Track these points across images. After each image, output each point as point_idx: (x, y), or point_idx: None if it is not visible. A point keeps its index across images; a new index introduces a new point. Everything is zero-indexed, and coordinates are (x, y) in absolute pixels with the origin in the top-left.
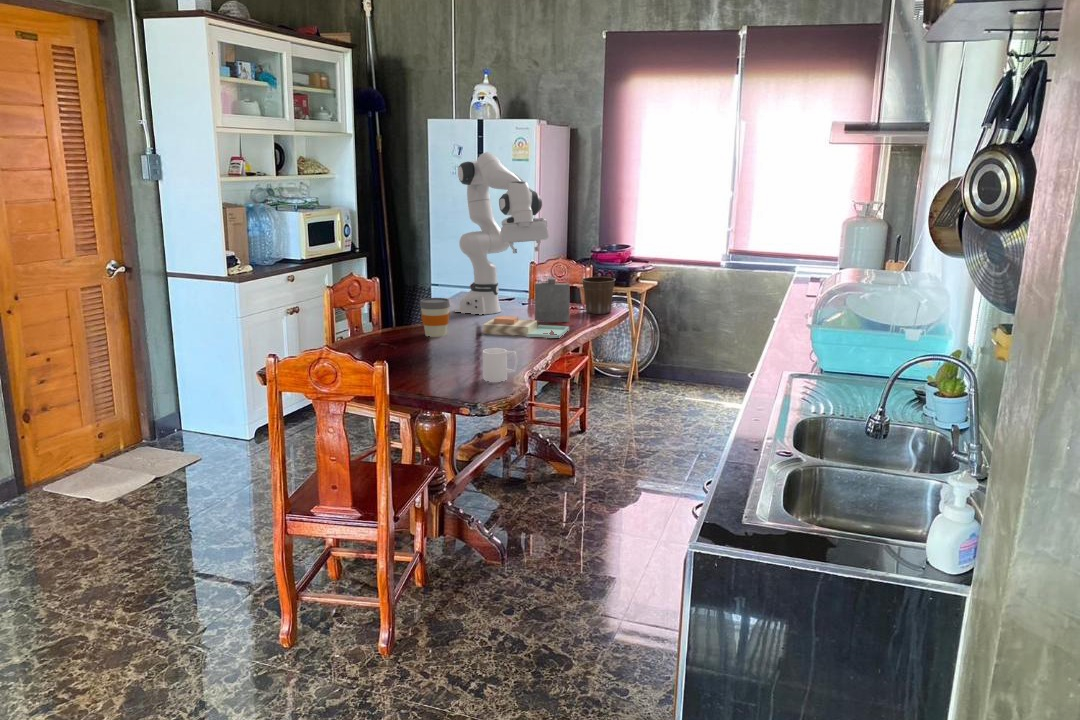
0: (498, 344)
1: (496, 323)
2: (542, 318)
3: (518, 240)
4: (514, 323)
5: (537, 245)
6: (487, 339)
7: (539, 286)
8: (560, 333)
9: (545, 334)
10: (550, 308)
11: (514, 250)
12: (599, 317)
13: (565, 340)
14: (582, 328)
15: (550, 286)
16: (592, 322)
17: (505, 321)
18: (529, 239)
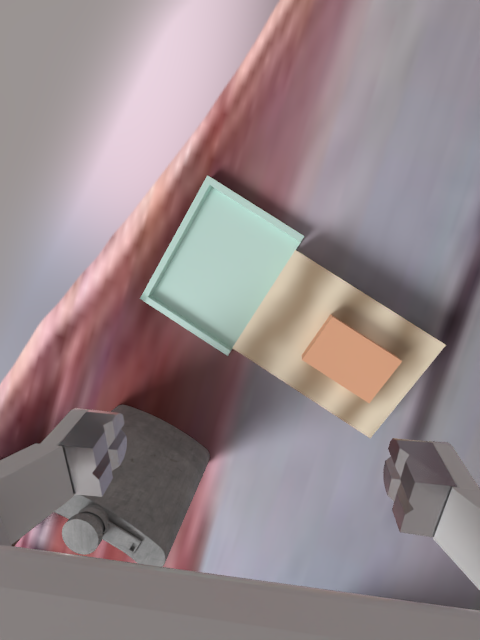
0: (434, 156)
1: (390, 347)
2: (188, 443)
3: (439, 620)
4: (327, 319)
5: (39, 479)
6: (447, 246)
7: (153, 528)
8: (195, 203)
9: (247, 203)
10: (151, 447)
11: (447, 463)
12: (19, 434)
13: (196, 155)
14: (101, 308)
15: (109, 500)
16: (53, 378)
17: (360, 333)
18: (119, 577)
